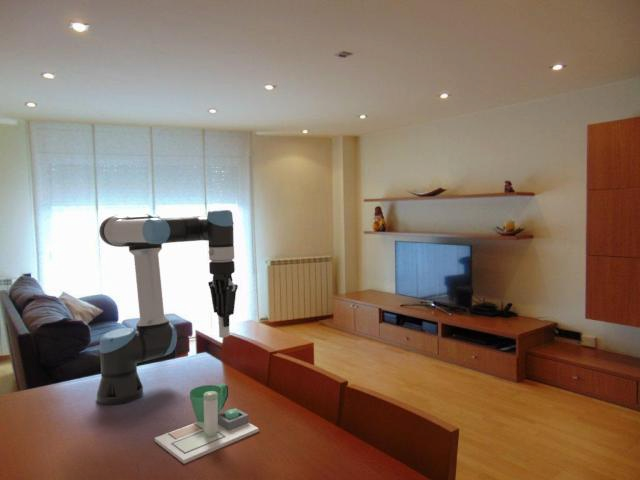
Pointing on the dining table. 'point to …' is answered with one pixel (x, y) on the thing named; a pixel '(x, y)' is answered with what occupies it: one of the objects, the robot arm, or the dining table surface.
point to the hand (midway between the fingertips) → (224, 336)
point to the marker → (210, 413)
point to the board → (196, 444)
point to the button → (231, 414)
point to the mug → (198, 398)
